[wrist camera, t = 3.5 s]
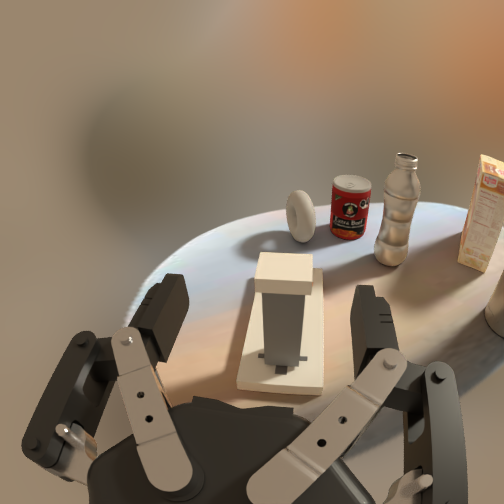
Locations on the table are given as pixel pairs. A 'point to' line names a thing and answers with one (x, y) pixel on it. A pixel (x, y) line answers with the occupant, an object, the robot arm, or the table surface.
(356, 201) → the canned food
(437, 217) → the table surface
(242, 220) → the table surface
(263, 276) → the slider knob
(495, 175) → the coffeecake box
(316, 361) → the fader deck
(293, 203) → the donut
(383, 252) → the plastic bottle
